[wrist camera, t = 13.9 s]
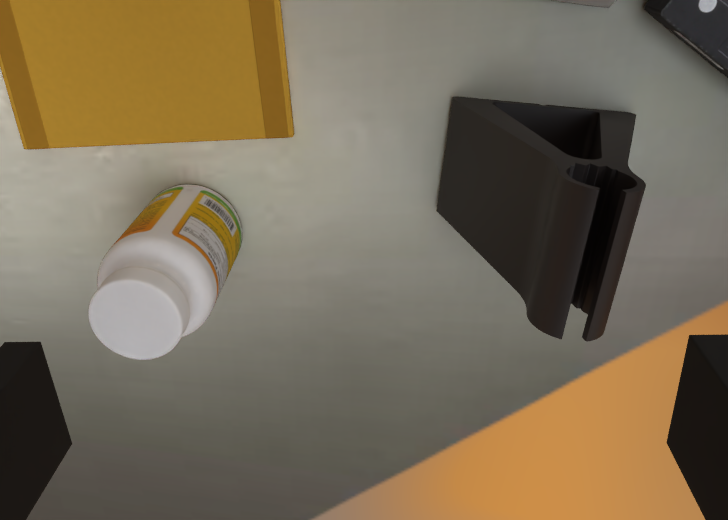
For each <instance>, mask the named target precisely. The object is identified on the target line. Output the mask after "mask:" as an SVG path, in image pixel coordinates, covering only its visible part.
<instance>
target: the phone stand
mask: <svg viewBox="0 0 728 520" xmlns="http://www.w3.org/2000/svg"><path fill="white" fill-rule="evenodd" d="M635 119H636V115H635V114H633V113H628V112H618V111H607V110H597V109H586V108H575V107H564V106H553V105H545V106H544V105H539V104H531V103H520V102H510V101H499V100H488V99H477V98H466V97H453V99H452V106H451V113H450V120H449V127H448V134H447V141H446V148H445V155H444V162H443V169H442V177H441V184H440V191H439V198H438V205H437V212H438V213H439V214H440V215H441V216H442V217H443V218H444V219H445V220H446V221H447V222H448V223H449V224H450V225H451V226H452V227H453V228H454V229H455V230H456V231H457V232H458V233H459V234H460V235H461V236H462V237H463V238H464V239H465V240H466V241H467V242H468V243H469V244H470V245H471V246H472V247H473V248H474V249H475V250H476V251H477V252H478V253H479V254H480V255H481V256H482V257H483V258H484V259H485V260H486V261H487V262H488V263H489V264H490V265H491V266H492V267H493V268H494V269H495V270H496V271H497V272H498V273H499V274H500V275H501V276H502V277H503V278H504V279H505V280H506V281H507V282H508V283H509V284H510V285H511V286H512V287H513V288H514V289H515V290H516V291H517V292H518V293H519V294H520V295H521V297H522V298H523V300H524V302H525V304H526V308H527V317H528V319H529V321H530V322H531V323H532V324H533V325H534V326H535V327H536V328H537V329H539V330H540V331H542V332H544V333H546V334H548V335H550V336H553V337H556V338H559V339H562V336H563V332H564V328H565V324H566V320H567V316H568V312H569V308H570V304H573V305H574V306H575V307H576V308H581V310H582V311H583V312H585V313H587V314H588V317H587V321H586V324H585V328H584V332H583V336H582V338H583V339H584V340H585V341H592V340H595V339H597V338H599V337H601V336H602V335H603V333H604V330H605V327H606V323H607V320H608V316H609V313H610V309H611V306H612V302H613V299H614V295H615V292H616V288H617V285H618V281H619V278H620V274H621V271H622V267H623V264H624V260H625V257H626V253H627V250H628V246H629V243H630V239H631V236H632V232H633V229H634V225H635V222H636V218H637V215H638V211H639V208H640V204H641V201H642V197H643V194H644V190H645V187H646V184H645V182H644V181H643V180H642V179H641V178H639V177H638V176H636V175H635V174H634V173H633V172H632V171H631V170H630V169H629V167H628V159H629V153H630V147H631V142H632V136H633V130H634V125H635Z"/></svg>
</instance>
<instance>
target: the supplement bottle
mask: <svg viewBox="0 0 728 520" xmlns="http://www.w3.org/2000/svg"><path fill="white" fill-rule="evenodd" d="M241 242H242V227H241V223H240V220H239V218H238V216H237V214H236V212H235V210H234V208H233V207H232V206H231V205H230V203H229V202H228V201H227V200H226V199H225V198H223V197H222V196H221V195H219V194H218V193H216V192H215V191H213V190H211V189H208V188H205V187H202V186H198V185H178V186H174V187H171V188H168V189H166V190H164V191H162V192H161V193H159V194H158V195H157V196H156V197H155V198H154V199H153V200H152V201H151V202H150V203H149V204H148V205H147V206H146V208H145V209H144V210H143V211H142V212H141V213H140V215H139V216H138V217H137V218H136V219H135V221H134V222H133V223H132V224H131V225H130V226H129V227H128V229H127V230H126V231H125V232H124V233H123V234H122V236H121V237H120V238H119V239H118V240H117V241H116V242H115V243H114V245H113V246H112V247H111V248H110V249H109V251H108V252H107V254H106V255H105V256H104V258H103V260H102V262H101V264H100V267H99V271H98V277H97V284H98V290H97V291H96V292H95V294H94V295H93V297H92V299H91V302H90V304H89V311H88V314H89V321H90V325H91V327H92V330H93V332H94V333H95V335H96V336H97V338H98V339H99V340H100V341H101V342H102V343H103V344H104V345H105V346H106V347H108V348H109V349H110V350H112V351H114V352H116V353H118V354H120V355H122V356H125V357H128V358H132V359H140V360H147V359H153V358H158V357H160V356H163V355H165V354H166V353H168V352H169V351H171V350H172V349H173V348H174V347H175V346H176V345H177V343H178V342H179V340H180V338H181V337H184V336H186V335H188V334H190V333H192V332H194V331H195V330H196V329H198V328H199V327H200V326H201V325H202V324H203V323H204V322H205V321H206V319H207V318H208V316H209V315H210V313H211V311H212V309H213V307H214V305H215V303H216V300H217V298H218V296H219V294H220V291H221V289H222V287H223V285H224V283H225V281H226V279H227V276H228V274H229V272H230V270H231V268H232V266H233V263H234V261H235V259H236V257H237V255H238V252H239V250H240V246H241Z"/></svg>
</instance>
